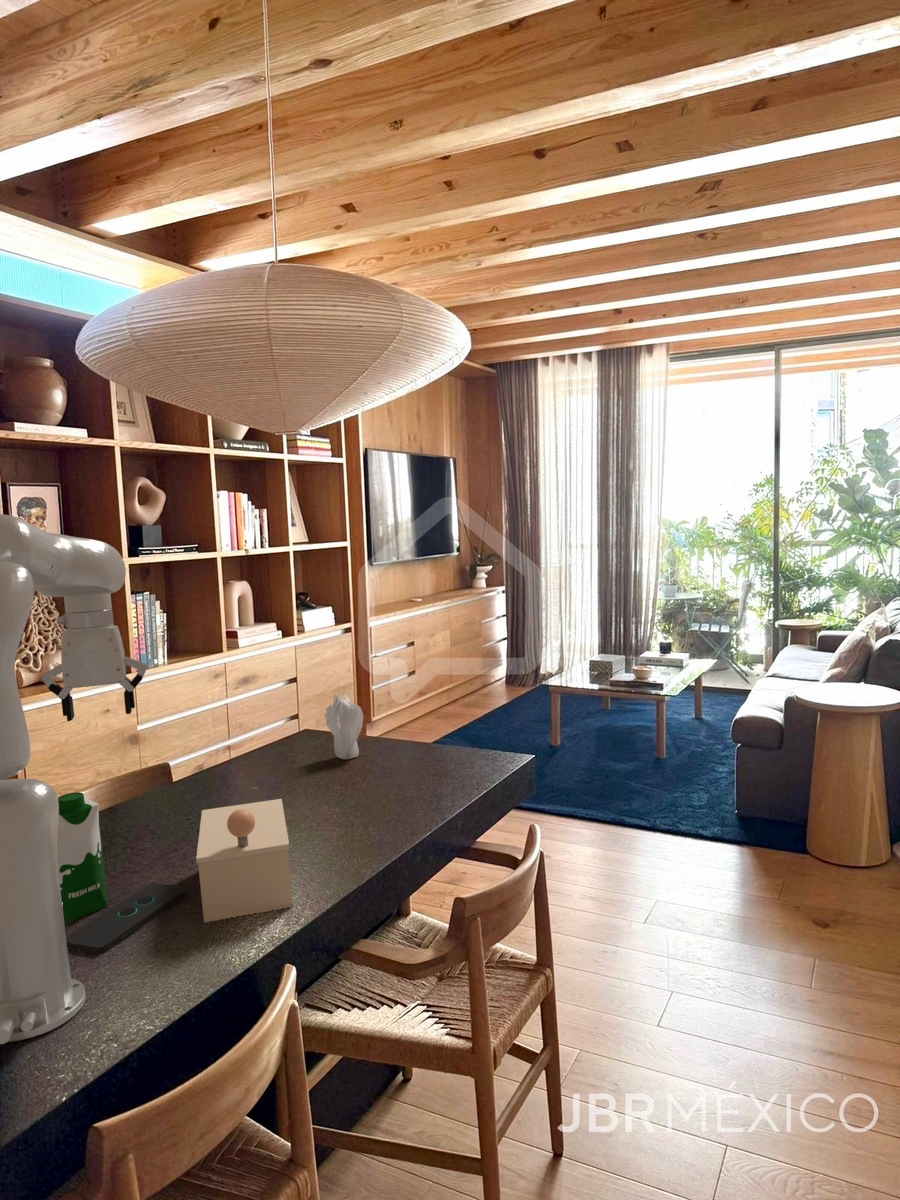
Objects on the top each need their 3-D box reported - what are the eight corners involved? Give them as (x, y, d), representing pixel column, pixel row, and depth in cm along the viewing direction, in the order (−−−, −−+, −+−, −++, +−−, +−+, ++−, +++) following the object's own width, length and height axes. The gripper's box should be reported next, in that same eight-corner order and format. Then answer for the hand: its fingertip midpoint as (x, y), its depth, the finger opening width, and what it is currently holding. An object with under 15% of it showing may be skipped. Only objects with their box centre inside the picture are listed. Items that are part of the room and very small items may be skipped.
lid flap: (289, 848, 131) (286, 808, 130) (196, 863, 127) (192, 822, 126) (282, 802, 152) (279, 768, 151) (202, 814, 149) (199, 778, 148)
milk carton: (63, 927, 130) (49, 807, 128) (38, 912, 135) (24, 797, 133) (115, 905, 136) (103, 791, 134) (89, 892, 142) (77, 782, 140)
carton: (293, 906, 132) (288, 848, 131) (204, 922, 129) (198, 862, 127) (285, 854, 153) (281, 803, 152) (208, 866, 150) (203, 814, 149)
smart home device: (188, 886, 139) (101, 947, 120) (189, 896, 139) (103, 958, 121) (150, 881, 142) (59, 940, 123) (151, 890, 142) (60, 950, 124)
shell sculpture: (352, 750, 219) (347, 685, 217) (367, 757, 212) (362, 690, 210) (324, 757, 214) (319, 691, 212) (339, 764, 207) (334, 695, 205)
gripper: (31, 627, 136) (42, 727, 138) (140, 618, 141) (150, 714, 143) (40, 623, 143) (51, 717, 145) (144, 614, 148) (153, 705, 150)
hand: (100, 715), depth 144 cm, fingers open, 9 cm apart
